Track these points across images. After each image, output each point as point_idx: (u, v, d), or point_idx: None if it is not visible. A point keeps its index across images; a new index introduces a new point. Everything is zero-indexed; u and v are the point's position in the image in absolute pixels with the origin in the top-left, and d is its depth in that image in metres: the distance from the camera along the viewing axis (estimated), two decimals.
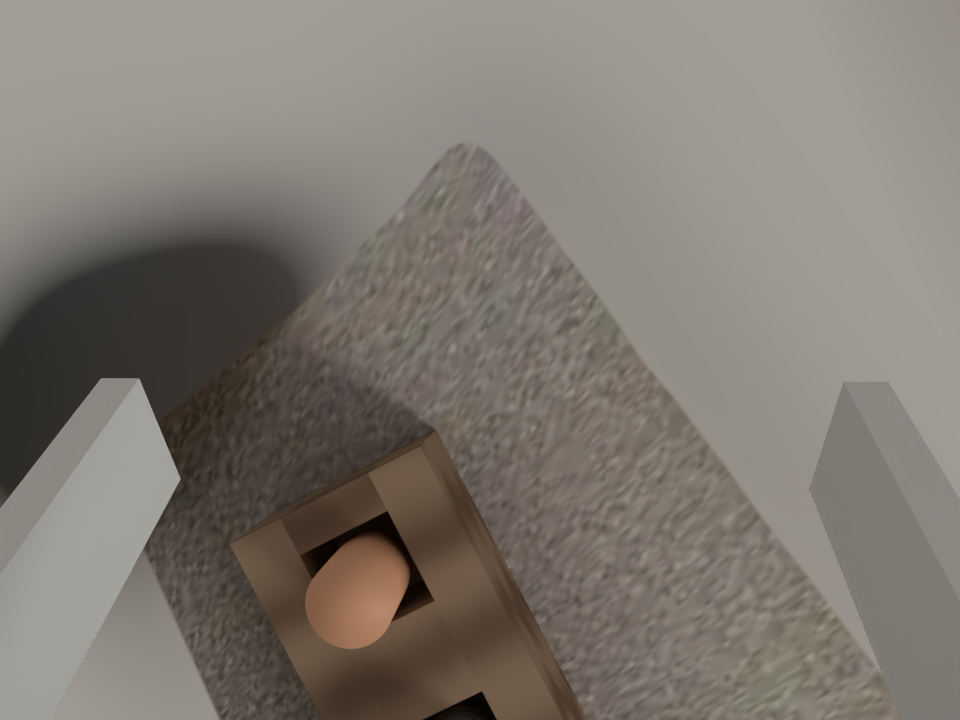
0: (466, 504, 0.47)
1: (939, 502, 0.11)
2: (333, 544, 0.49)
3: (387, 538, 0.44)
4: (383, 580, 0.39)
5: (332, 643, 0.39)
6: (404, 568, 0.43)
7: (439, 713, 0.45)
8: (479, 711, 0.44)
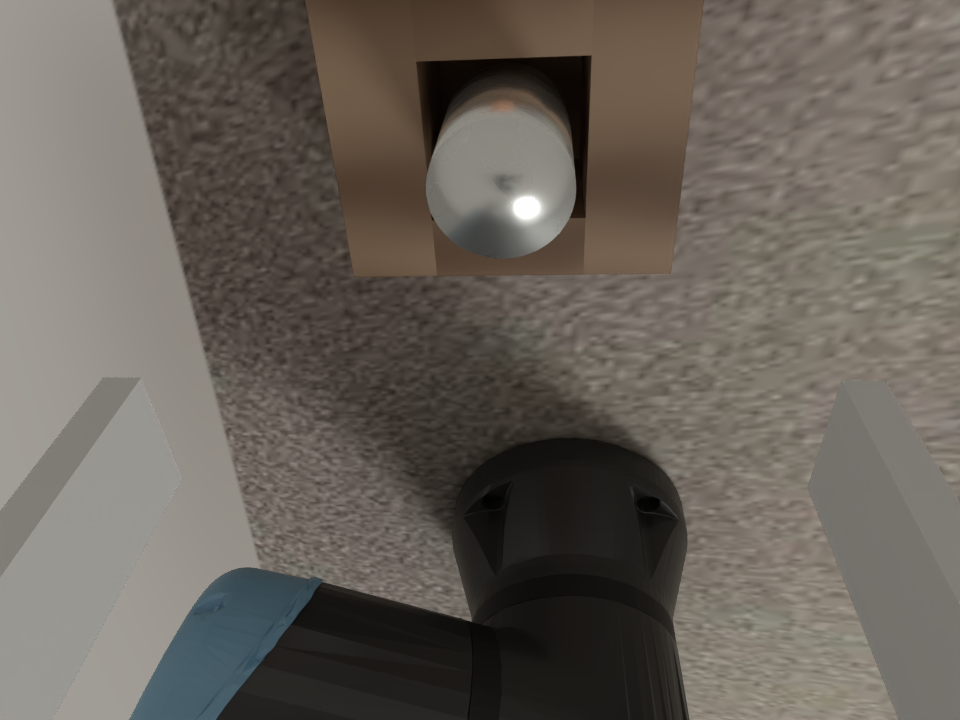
0: None
1: (936, 500, 0.11)
2: None
3: None
4: None
5: None
6: None
7: (495, 67, 0.26)
8: (558, 92, 0.27)
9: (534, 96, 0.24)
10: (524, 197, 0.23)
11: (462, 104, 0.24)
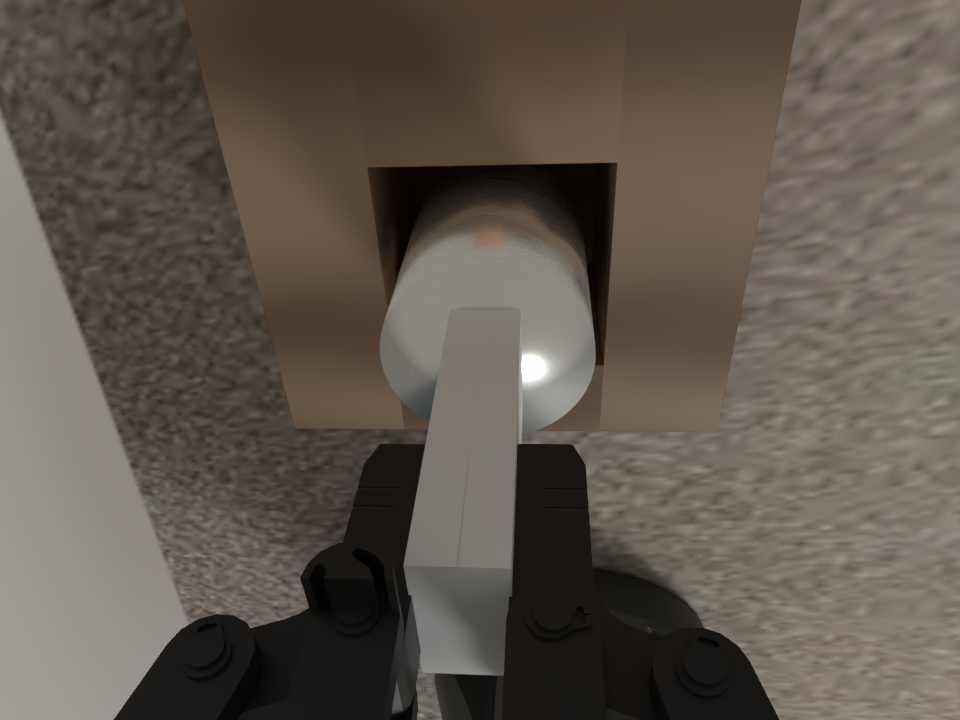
0: None
1: (500, 394, 0.13)
2: None
3: None
4: None
5: None
6: None
7: None
8: (567, 195, 0.20)
9: (535, 216, 0.17)
10: None
11: (434, 225, 0.17)
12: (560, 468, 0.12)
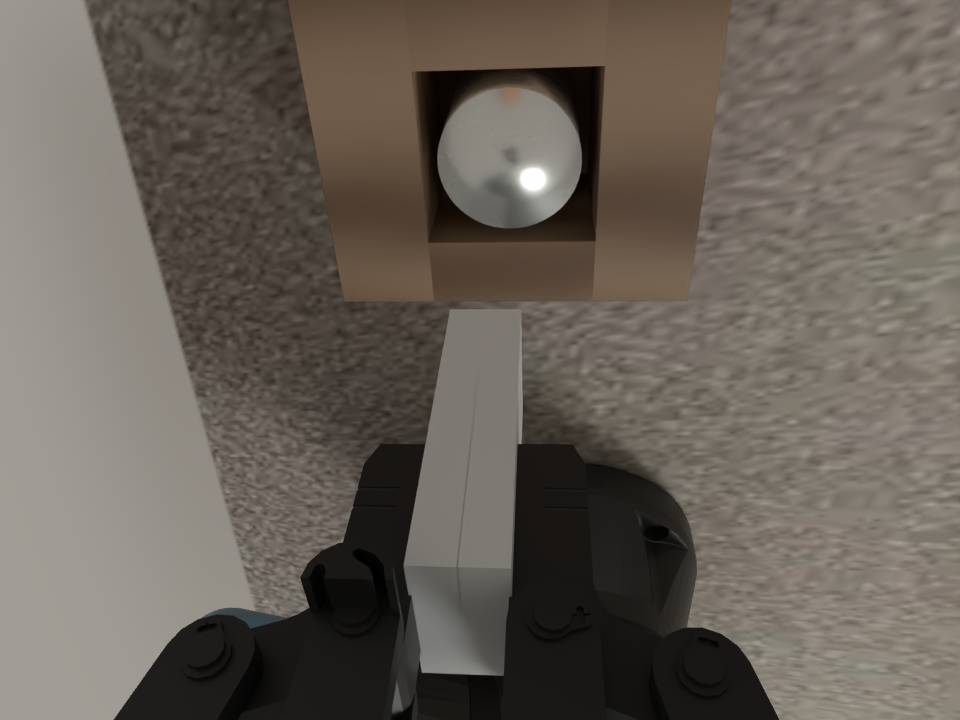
0: None
1: (500, 394, 0.13)
2: None
3: None
4: None
5: None
6: None
7: None
8: (564, 69, 0.28)
9: (542, 72, 0.25)
10: (532, 168, 0.24)
11: (472, 79, 0.25)
12: (560, 468, 0.12)
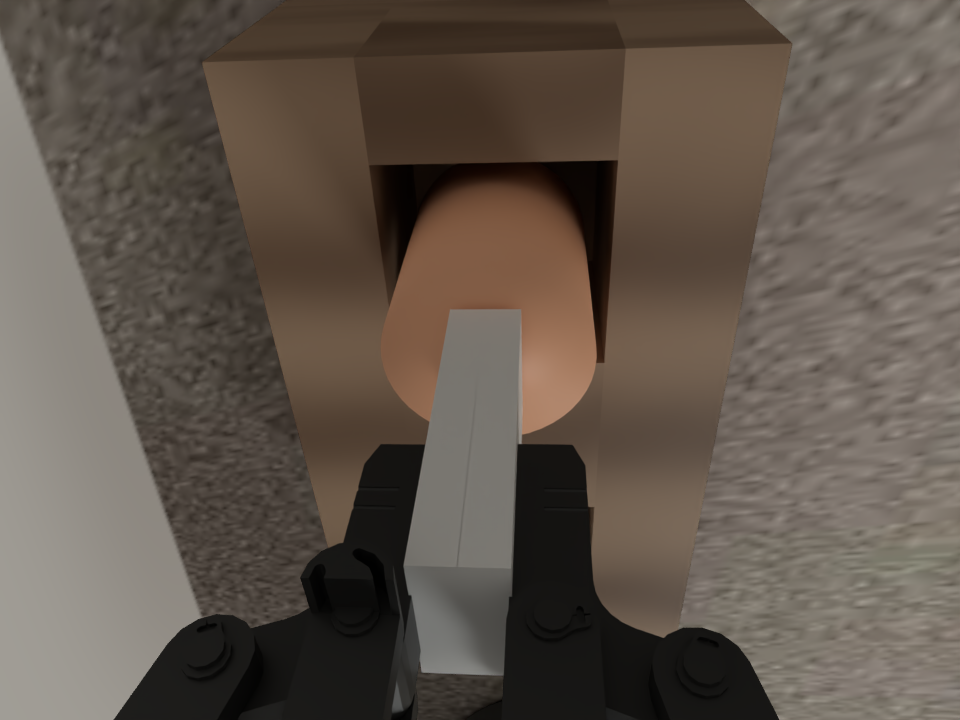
0: None
1: (500, 394, 0.13)
2: None
3: (569, 201, 0.19)
4: (592, 346, 0.16)
5: (414, 408, 0.17)
6: None
7: None
8: None
9: None
10: None
11: None
12: (560, 468, 0.12)
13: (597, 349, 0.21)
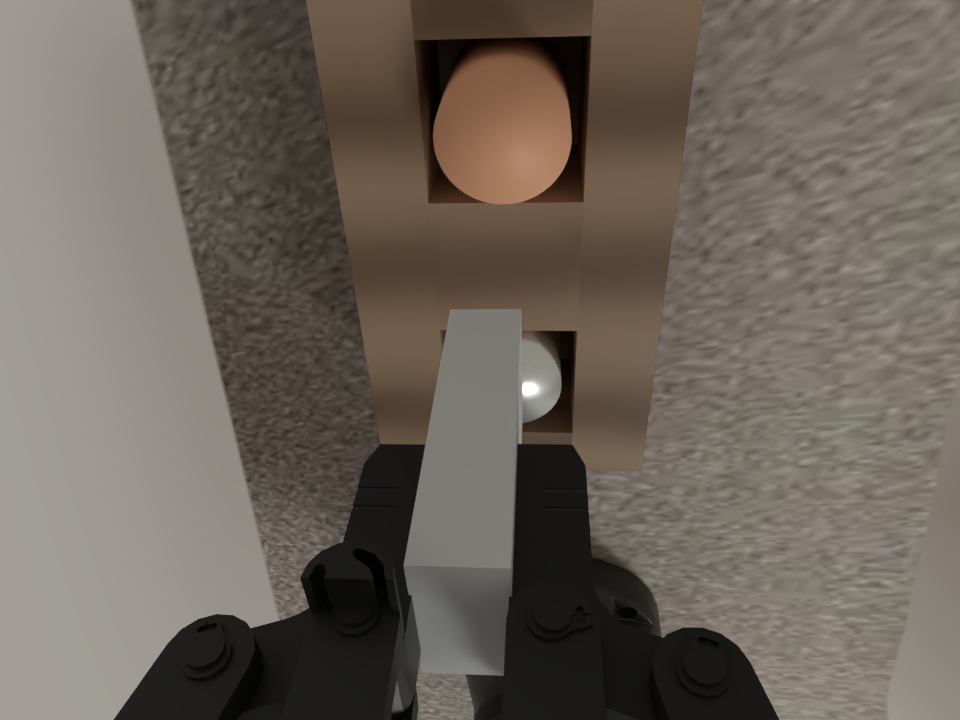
0: None
1: (500, 394, 0.13)
2: None
3: (556, 56, 0.28)
4: (568, 129, 0.25)
5: (452, 180, 0.26)
6: None
7: None
8: None
9: None
10: (525, 388, 0.34)
11: None
12: (560, 468, 0.12)
13: (578, 194, 0.29)
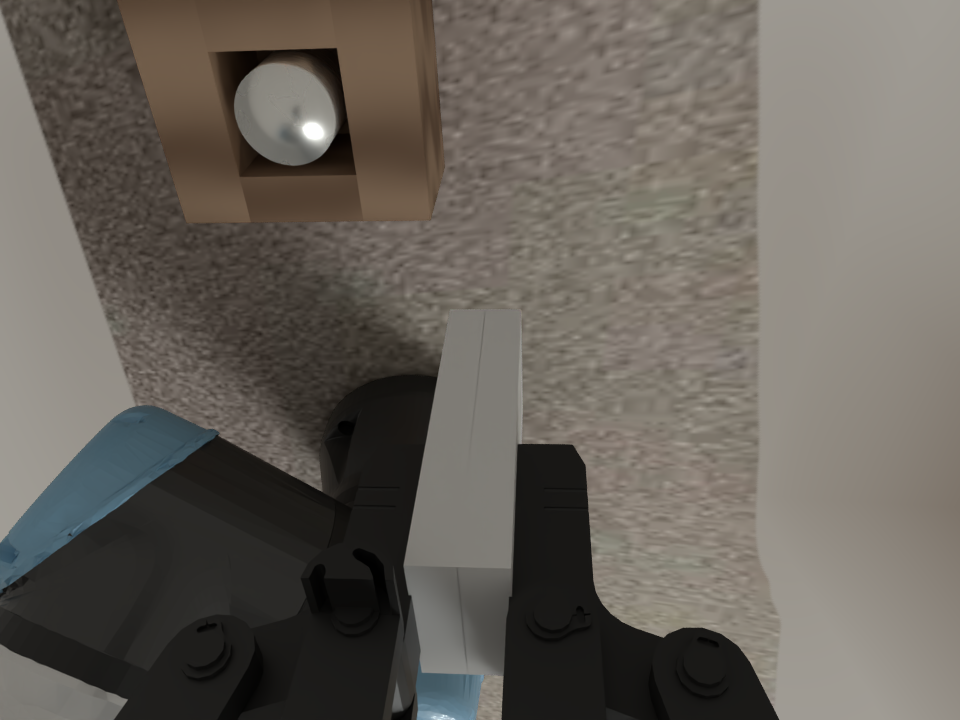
0: None
1: (500, 394, 0.13)
2: None
3: None
4: None
5: None
6: None
7: None
8: None
9: (312, 54, 0.36)
10: (301, 120, 0.35)
11: (264, 59, 0.36)
12: (560, 468, 0.12)
13: None
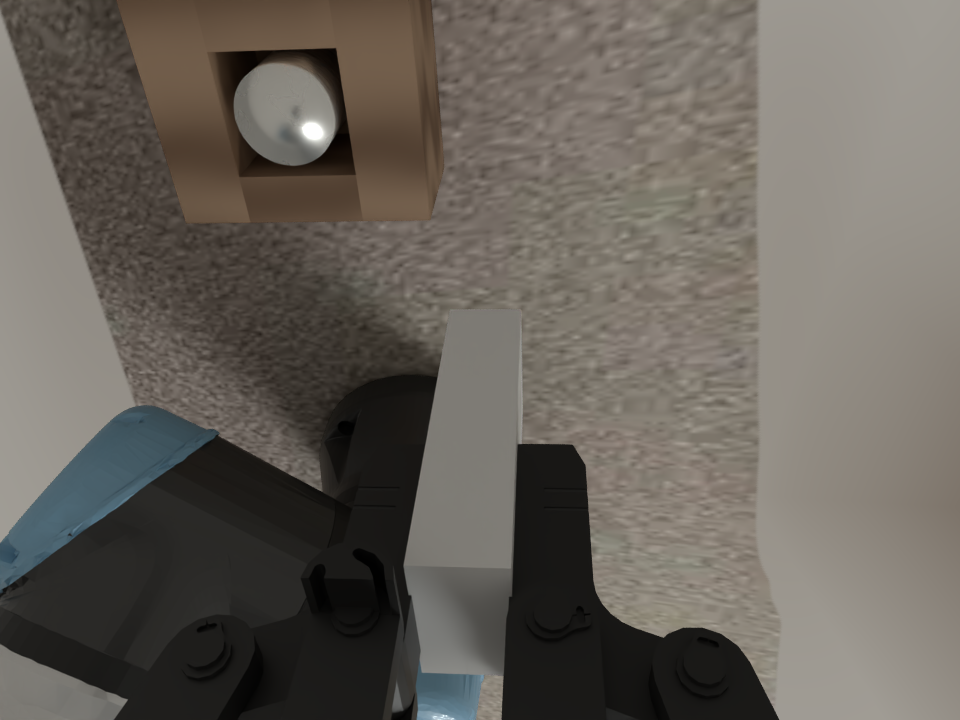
0: None
1: (500, 394, 0.13)
2: None
3: None
4: None
5: None
6: None
7: None
8: None
9: (312, 54, 0.36)
10: (300, 120, 0.35)
11: None
12: (560, 468, 0.12)
13: None
